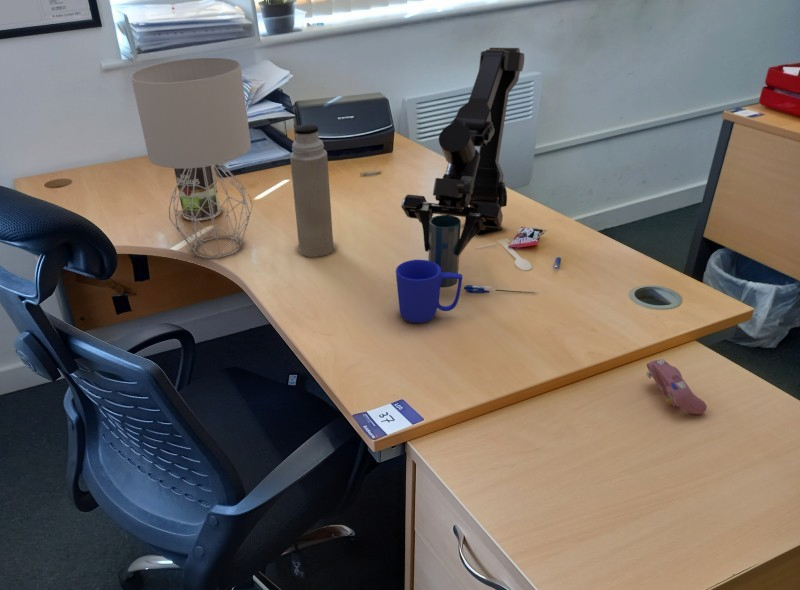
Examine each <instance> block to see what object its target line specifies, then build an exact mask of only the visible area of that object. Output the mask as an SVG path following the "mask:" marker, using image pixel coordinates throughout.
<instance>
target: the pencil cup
mask: <svg viewBox="0 0 800 590" xmlns="http://www.w3.org/2000/svg"><path fill="white" fill-rule="evenodd" d="M461 223H462V222H461V219H460V217H459V216H451V215H442V214H439V215H435V216H432V218H431V219H430V220H429V250H428V255H427V256H428V258H427V261H431V262H434V263H436V264H437V265H439V266H440V268H441V272H442V273H458V274H459V268H460V266H459V265H460V255H459V256H457V255H456V252H457V247H458V243H459V240H460V237H461V226H462V225H461ZM456 284H458V279H455V278H445V279H443V281H442V283H441V287H440V289H441V288H444V289H446V288H451V287H453V286H455V285H456Z"/></svg>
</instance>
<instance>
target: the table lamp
mask: <svg viewBox="0 0 800 590" xmlns="http://www.w3.org/2000/svg"><path fill="white" fill-rule="evenodd" d="M130 79H131V83H132V88H133V92H134V96H135V101H136V107H137V111H138V116H139V120H140V124H141V129H142V134H143V140H144V144H145V147H146V153H147V157H148V161H149V162H150V163H152V164H153V165H154V166H158V167H161V168H167V169H174V168H178V169H184V171H183V173H182V175H181V177H180V179H179V181H178V183H177V182H176V185H175V188H174V189H173V192H171V193H172V194H171V198H170V201H169V206H168V219H169V220H170V222H171V224H172V225H173V226H174V227H175V229H176V230H177V232H178V233H179V234H180V236H181V237H182V238H183V240H184V241H185V243H186V244H188V246H189V247H190V248H191V250H192V251H193V252H194V253H195V255H196V256H197V257H200V258H201V257H202V258H205V259H206V258H207V259H215V258H216V259H217V258H222V257H226V256H230V255H233V254H234V253H236V252H237V251H239V250H240V249H241V247H242V242H243V240H244V237H245V234H246V231H247V228H248V227H247V226H248V224H249V222H250V221H249V220H250V217H251V213H252V210H253V206H254V205H253V201H252V199H251V196H250V194H249V193H248V191H247V189H246V187H245V186H244V184H243V183H242V182H241V181H240V180H239V178H237V177H236V176H235V175H234V174H233V173H232V172H231V171H230V169H228V168H227V167H226V166H225V165H224V163H229V162H231V161H234V160H237V159H238V158H241V157H243V156H244V155H246V154H247V153H248V152H249V151H250V150H251V148H252V143H251V141H252V140H251V135H250V133H251V132H250V126H249V118H248V110H247V103H246V97H245V88H244V81H243V73H242V66H241V62H240V61H238V60H236V59H233V58H227V57H194V58H184V59H177V60H176V59H175V60H171V61H165V62H160V63H155V64H152V65H148V66H145V67H142V68H140V69H138V70H136V71H134V72H133V73H131V75H130ZM213 165H214V167H213ZM207 166H212V168H213V170H214V171H215V176H216V181H215V182H216V183H217V182H218V181H219V183H220V185H221V187H222V189H223V191H224V193H225V195H226V199H225V200H224V201H223V202H222V204H221V205H220V206H219V205H217V204H216V203H215V202H213V201H212V200H211V198H210V193H209V187H210V186H212V185H213V184H214V183H215V182H214V183H212V184H211V185H210V186H209V187H208V182H207V177H206V171H205V167H207ZM216 166H218V167H219V168H220V170H221V171H222V172H223V173H224V175H225V176H226V177H227V179H229V180H227V179H226V178H225V177H223V176H222V174H221V173H220V171H219V170H218V168H217V167H216ZM199 167H204V168H203V174H204V172H205V174H204V180H205V177H206V181H205V187H206V182H207V187H206V188H204V187H201V186H199V185H196V184H195V177H196V169H197V168H199ZM186 168H189V169H188V172H189V170H190V168H191V171H192V168H195V177H194V183H191V182H189V179H190V175H191V171H190V175H189V178H188V182H187V183H188V184H189V183H191V184H193V185H194V186H195V185H196V186H199V187H201V188H204V189H206V193H207V189H208V193H209V198H208V193H207V199H208V204H209V200H210V204H211V209H212V203H211V201H212V202H213V203H215V204H216V205H217V206H218V207H220V208H219V210H220V209H221V211H223V212H225V213H226V215H225V217H224V218H223V221H222V222H221V224H220V226H219V228H218V227H217V226H216V220H215V218H216V217H217V216H216V215H217V213H218V212H219V210H218V211H217V213H216V214H215V215H214V214H213V209H212V215H213V216H212V215H211V210H210V214H209V213H207V212H206V211H204V210H203V209H202V207H203V205H204V204H205V202H206V200H207V199H206V200H205V202H204V203H203V205H202V207H201V208H200V207H199V206H197V205H196V204H195V203H193V195H194V186H193V195H192V202H191V203H190V204H192V209H191V207H190V204H189V200H188V204H189V205H187V206H186V207H185V208H187V207H188V206H189V207H190V209H191V216H189V215H187V214H184V213H183V212H182V211H183V210H184V209H185V208H184V209H182V208H181V210H180V211H179V210H178V208H179V201H180V195H181V192H182V190H183V189H184V187H185V186H186V185H187V199H188V184H187V183H186V184H185V181H186V178H187V175H188V172H187V175H186V178H185V181H184V183H183V186H184V184H185V186H184V187H183V186H182V189H181V191H180V192H179V191H178V185H179V183H180V181H181V179H182V177H183V174H184V172H185V170H186ZM225 171H226V172H227V173H228V174H229V175H230V176H229V175H228V174H227V173H226V172H225ZM219 176H220V177H219ZM230 177H232V179H233V180H234V181H235V182H236V183H234V181H233V180H232V179H231V178H230ZM225 181H226V182H227V183H229V184H230V185H232V186H233V187H234V188H236V190H237V191H238V192H239V194H240V196H241V198H242V200H239V199H235V198H233V197H231V196H229V193H228V189H227V188H228V187H227V186H226V184H225ZM236 184H237V185H236ZM177 191H178V193H177ZM245 193H246V194H247V196H248V198H249V202H250V204H251V208H250V209H249V206H248V202H247V196H246V194H245ZM179 194H180V195H179ZM176 199H177V202H176V204H175V201H176ZM231 200H233V201H236V202H238V203H237V204H236V205H235V206H233V205H232V202H231ZM226 202H227V203H226ZM172 203H173V211H174V217H175V219H174V220H175V223H174V221H173V220H172V218H171V205H172ZM225 203H226V205H227V207H226V210H225V209H224V208H222V207H223V206H224V205H225ZM193 204H194V205H196V206H197V207H198V208H200V210H203V211H204V212H205V213H207V214H208V215H210V216H211V219H210V220H211V225H212V229H211V230H208V228H206V227H205V226H204V225H203V224H202V223H201V222H200V221H198V220H196V219H195V218H196V216H197V215H198V213H199V212H200V210H199V211H198V213H197V215H196V216H195V217H194V214H193V212H192V211H193ZM210 204H209V209H210ZM241 204H242V206H241V212H240V217H239V222H238V221H237V217H236V211H235V210H234V209H236V208H237V207H238V206H239V205H241ZM229 205H230V207H231V209H230V210H229ZM244 209H245V215H246V217H245V220H244V221H243V222H242V224H241V221H242V215H243V210H244ZM231 212H232V213H233V216H234V220H235V221H234V222H235V227H234V226H233V224H232V220H231V218H230V215H229V213H231ZM179 214H182V215H183V214H184V215H187V216H189V217H191V219H192V218H194V221H193V219H192V221H191V227H192V231H193V233H194V236H193V235H192V234H191V233H190V232H189V231H188V229H187V227H186V226H185V224H184V222H183V221H182V219H181V217H180V216H179ZM192 214H193V217H192ZM215 216H216V217H215ZM178 219H179V221H180V224H181V225H182V227H183V228H184V229H183V228H182V227H181V226H179V222H178ZM225 220H226V230H224V229H221V228H222V226H223V225H224V223H225ZM229 223H230V227H231V229H232V233H230V232H228V229H229V228H228V227H229ZM237 224H238V225H237ZM199 225H200V226H201V227H203V228H204V229H205V230H206V232H207V233H206V234H205V235H204V236H203V234H202V231H201V229H200V226H199ZM243 225H244V226H243ZM196 226H197V227H196ZM242 227H243V228H242ZM196 228H197V229H198V231H199V233H200V236H201V239H199V237H198V235H197V229H196ZM241 228H242V229H241ZM182 231H183V232H184V233H185V234H187V235H188V236H189V237H190V238H189V237H188V236H186V235H185V234H183V232H182ZM220 231H221V232H223V233H226V236H218V234H219V232H220ZM239 231H240V232H239ZM212 232H213V233H212ZM242 232H243V234H242ZM209 234H210V235H211V236H212V237H211V238H210V237H209V238H207V239H205V238H206V237H207V236H208V235H209ZM241 234H242V237H241V240H239V239H238V238H239V237H240V236H241ZM228 235H230V236H232V237H230V236H228ZM213 239H216V245H217V250H218V254H217V252H215V251H214V250H212V249H211V248H210V247H208V246H207V245H206V244H205V243H204V242H207V241H210V240H213ZM219 239H230V240H229V242H228V244H227V245H226V247H225V248H224V249H223V251H222V252H220V246H219V245H220V244H219ZM197 242H198V243H197ZM235 242H236V245H237V247H238V248H237V249H235V250H234V245H235ZM191 243H192V244H193V246H194V247H193V246H192V244H191ZM231 243H232V245H231V246H232V247H231V253H227V254H224V253H225V252H226V250H227V248H228V247H229V245H230V244H231ZM203 246H204V247H205V248H206V249H208V250H209V251H210V252H212V253H213V254H214V255H215V256H208V255H207V253H206V251H205V249H204V247H203ZM200 247H201V249H202V251H203V253H204V255H201V254H199V252H200ZM196 248H197V251H196Z"/></svg>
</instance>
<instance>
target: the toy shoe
mask: <svg viewBox="0 0 800 590" xmlns="http://www.w3.org/2000/svg"><path fill="white" fill-rule="evenodd" d="M646 367H647V370H648V371H646V373H645V374H646V377H647V378H649V379H652V378H653V380H654V382H655V384H656V386H657V387H658V389H659V390H660V392H661V393H662V395H666V397H667V399H666V401H667V403H668V404H671V406H673V407H674V408H675V407H679V408H680V409H681V410H683V411H685V412H687V413H689V414H692V415H703V414H704V413H705V412H706V411H707V408H708V406H707V403H706V402H705V401H704V400H703V399H701V398H700V397H698V396H697V395H696V394H695V393H694V392H692V391H693V390H691V388H690V387H689V384H688V383H687V382H686V380H684V378H683V375H682V373H681V371H680V370H679V369H678V368H676V367H675V366H673V365H671V364H670V363H669V362H667V361H666V360H665V359H664V358H661V359H655V360H652V361H650V362H647V363H646Z"/></svg>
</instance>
